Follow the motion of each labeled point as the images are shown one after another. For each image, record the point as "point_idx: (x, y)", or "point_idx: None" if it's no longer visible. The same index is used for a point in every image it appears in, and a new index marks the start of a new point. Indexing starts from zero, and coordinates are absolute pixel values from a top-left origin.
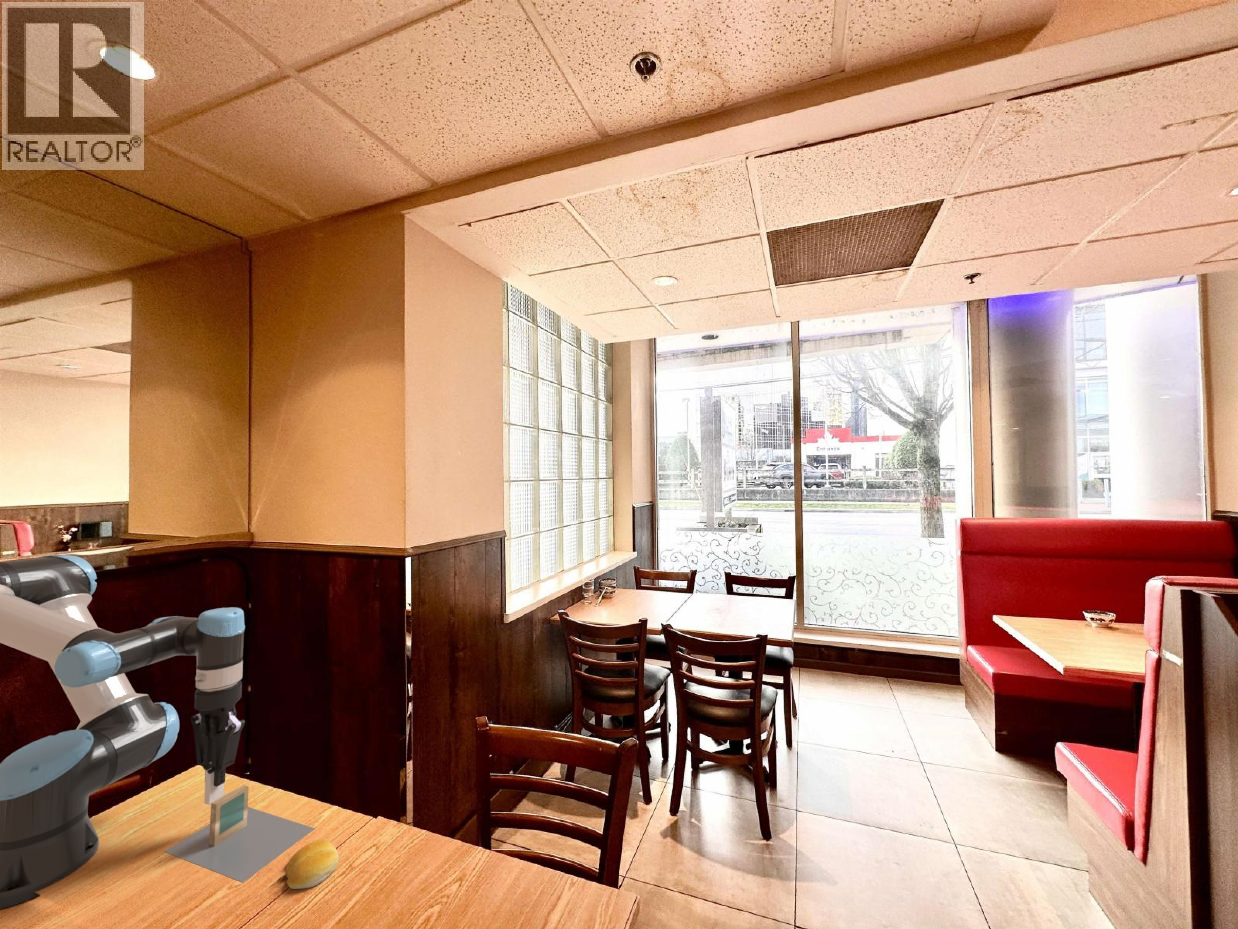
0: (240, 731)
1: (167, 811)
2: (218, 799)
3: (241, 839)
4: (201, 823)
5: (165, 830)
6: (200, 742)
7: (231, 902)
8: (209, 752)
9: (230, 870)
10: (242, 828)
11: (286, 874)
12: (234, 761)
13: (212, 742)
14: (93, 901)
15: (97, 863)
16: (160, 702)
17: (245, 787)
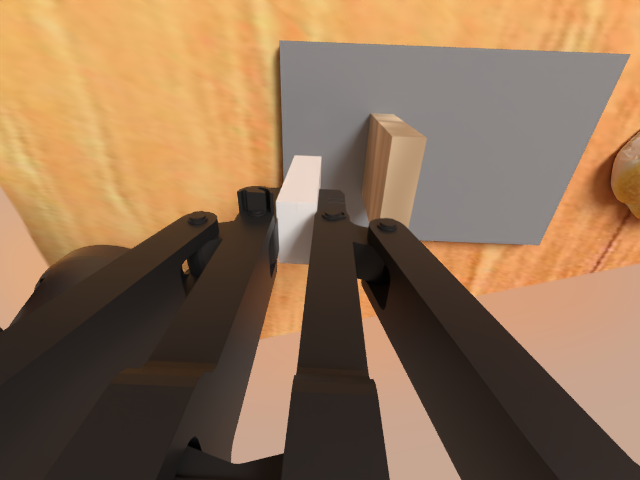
0: (621, 458)
1: (87, 120)
2: None
3: (428, 159)
4: (235, 126)
5: (182, 172)
6: (142, 359)
7: (529, 260)
8: (261, 315)
9: (485, 232)
10: None
11: (622, 202)
12: (405, 227)
13: (246, 356)
14: (289, 309)
15: (184, 267)
16: None
17: (420, 148)
